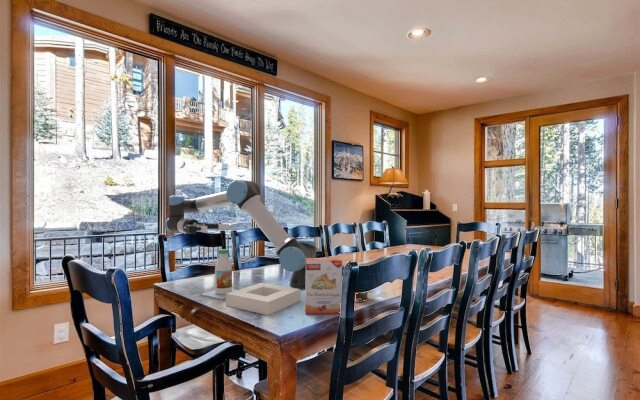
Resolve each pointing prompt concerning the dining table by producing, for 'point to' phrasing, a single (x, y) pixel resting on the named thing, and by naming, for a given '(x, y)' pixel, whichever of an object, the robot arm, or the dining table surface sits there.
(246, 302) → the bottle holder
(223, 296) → the mat
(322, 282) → the cracker box
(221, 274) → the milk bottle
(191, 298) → the dining table surface
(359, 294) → the food container
